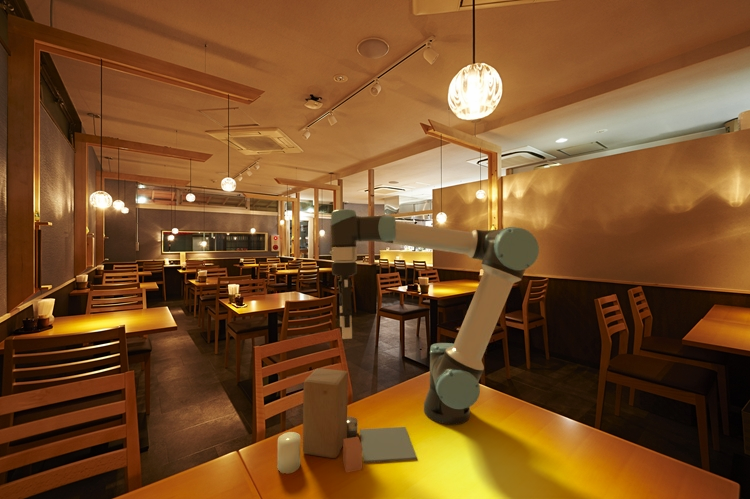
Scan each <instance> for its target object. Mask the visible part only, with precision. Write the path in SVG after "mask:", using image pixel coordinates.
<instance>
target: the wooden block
mask: <svg viewBox="0 0 750 499" xmlns="http://www.w3.org/2000/svg"><path fill="white" fill-rule="evenodd" d="M348 380H349V373H348V371H346V370H341V369H330V368H316V369H314V370H313V371H312V372H311V374H309V375H308V376H307V377H306V378H305V379H304V382H303V394H302V397H303V400H302V402H303V405H302V453H303V454H305V455H309V456H310V455H311V456H316V457H317V456H318V457H323V458H329V459H337V458H338V456H339V454H340V452H341V450H342V449H343V448H342V447H343V439H346V438H347V417H348V395H349V394H348V393H349V392H348V389H349V388H348V387H349V386H348V385H349V381H348Z"/></svg>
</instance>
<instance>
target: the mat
mask: <svg viewBox="0 0 750 499" xmlns="http://www.w3.org/2000/svg"><path fill="white" fill-rule="evenodd" d="M408 433H409V432H408V431H407V428H406V426H397V427H380V428H378V427H376V428H363V429H362V428H361V429H359V435H360V437H359V439H360V442H361V444H362V462H363V464H368V463H369V464H370V463H372V464H373V463H385V462H386V463H387V462H399V461H414V460H415V461H416V460H417V459H418V458H417V454H416V452H415V449H414V447H413V444H412V441H411V438H410V436H409V434H408Z"/></svg>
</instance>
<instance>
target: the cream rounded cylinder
mask: <svg viewBox="0 0 750 499" xmlns="http://www.w3.org/2000/svg"><path fill="white" fill-rule="evenodd" d="M276 458H277V462H276V463H277V466H276V468H278V469H277V471H278V470H279V471H280V472H279V471H278V472H279V473H280V474H284V473H286V474H285V475H287V474H292V473H294V472H296V471H298V469H300V466H301V435H300V433H297V432H296V431H288V432H284V433H283V434H280V435H279V436H278V438H277V457H276Z"/></svg>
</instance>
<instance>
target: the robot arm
mask: <svg viewBox="0 0 750 499" xmlns="http://www.w3.org/2000/svg"><path fill="white" fill-rule="evenodd" d="M330 216H331V217H330V219H331V220H330V241H331V245H330V246H331V250H330V251H329V254H330V255H331V261H333V262H332V263H331V274H332V276H339V277H338V278H339V280H337V287H338V293H339V300H338V302H339V327H340V328H341V335H342V336H341V339H342V340H346V339H347V340H349V339H350V340H351V339H353V323H352V322H353V321H352V320H353V318H352V314H353V311H352V310H353V309H352V308H353V307H352V306H353V305H352V287H353V286H352V280H351V279H350V276H354V275H357V274H358V264H357V262H356V261H357V259H358V253H357V251H358V250H357V249H358V248H357V242H378V243H387V244H392V245H393V244H394V245H401V246H407V247H414V248H421V249H427V250H434V251H441V252H447V253H455V254H462V255H467V256H468V258H470V259H474V260H478V261H479V260H480V261H481V263H480V266H481V269H482V272H483V273H482V275H481V277H480V280H479V283H478V285H477V287H476V290H475V292H474V294H473V297H472V300H471V302H470V304H469V307H468V309H467V311H466V314H465V317H464V319H463V321H462V324H461V326H460V329H459V330H458V333H457V335H456V338H455V340H454V343H452V342H451V343H450V342H438V343H437V342H436V343H433V344H431V345H430V351H429V354H430V356H429V389H428V391H427V393H426V396H425V400H424V403H423V413H424V415H426V417H428V419H430V420H432V421H434V422H436V423H440V424H442V425H451V426H452V425H453V426H454V425H455V426H456V425H461V424H464V423H466V422H468V420H469V419H470V417H471V416H470V415H471V409H470V407H472V406H473V405H475V404H476V403H477V401H478V399H479V397H480V394H481V386H480V383H479V381H480V379H481V377H482V374H483V371H484V369H485V367H484V364H483V361H482V359H483V356H484V354H485V352H486V349H487V348H488V347H487V346H488V345H489V342H490V340H491V338H492V334H493V333H494V330H495V328H496V326H497V323H498V321H499V318H500V316H501V314H502V311H503V309H504V307H505V304H506V302H507V299H508V297H509V295H510V293H511V290H512V288H513V285H514V284H515V283H517V282H520V281H522V280H523V276H524V274H525V271H526V270H527V269H529V268H530V267H532V266H533V265H534V264H535V263H536V261H537V259H538V257H539V255H540V254H539V253H540V246H539V243H538V242H539V241H538V240H537V238H536V237H535V235H534V233H532V232H530V231H529V230H528V229H525V228H523V227H522V228H521V227H516V226H509V227H508V226H507V227H505V228H497V229H490V230H484V229H483V230H482V229H481V230H480V229H473V230H472V231H467V230H459V229H453V228H452V229H451V228H445V227H438V226H437V227H436V226H432V225H431V226H429V225H423V224H416V223H409V222H402V221H400V222H399V221H396V217H395V216H394V215H393V216H392V215H372V216H369V215H368V216H366V215H365V216H358V215H357V213H356V210H354V209H334V210H333V211H331V214H330Z"/></svg>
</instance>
